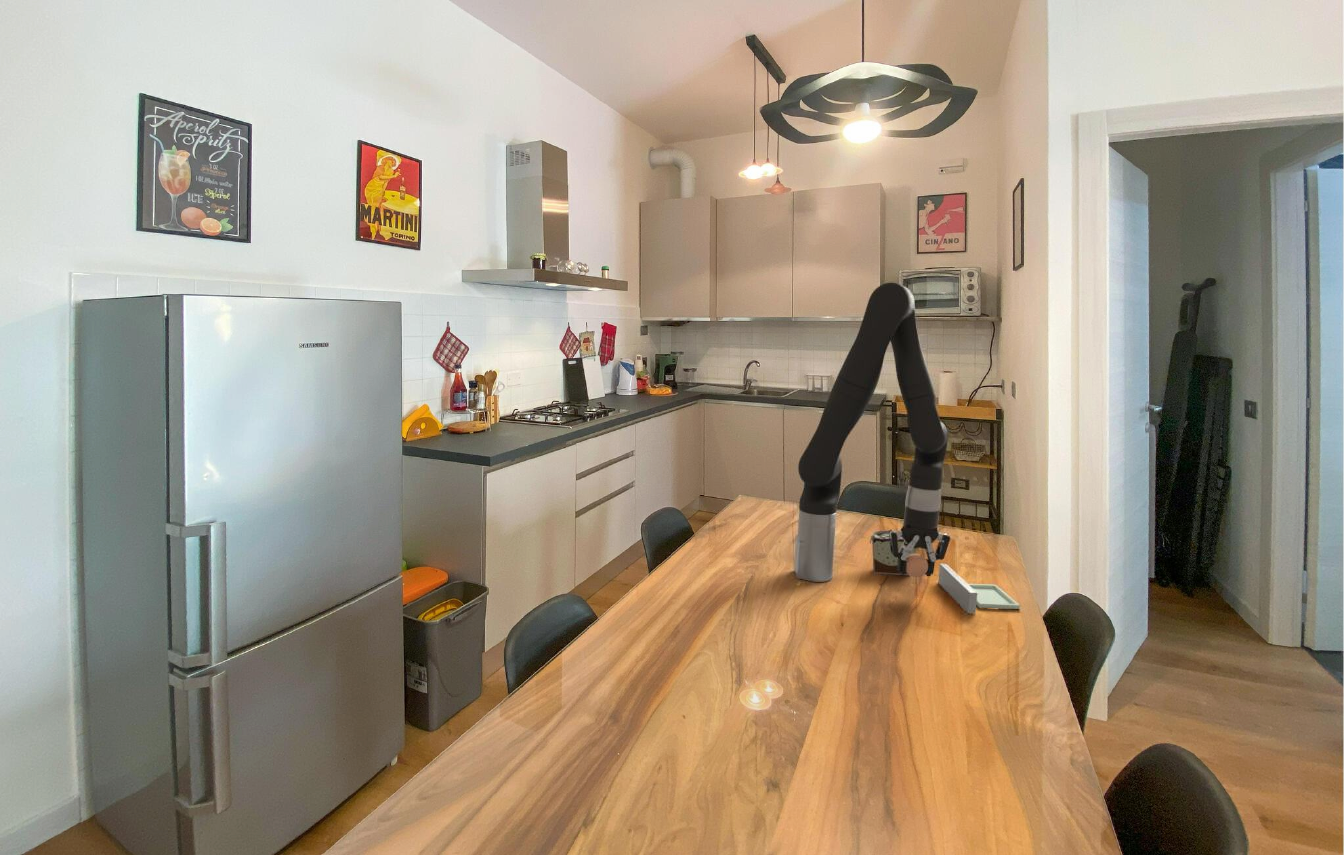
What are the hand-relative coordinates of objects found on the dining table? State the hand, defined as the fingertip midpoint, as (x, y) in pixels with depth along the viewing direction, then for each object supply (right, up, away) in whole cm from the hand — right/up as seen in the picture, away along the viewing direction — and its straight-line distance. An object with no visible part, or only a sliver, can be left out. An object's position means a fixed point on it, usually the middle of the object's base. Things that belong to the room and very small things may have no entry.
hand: (914, 574), depth 155 cm
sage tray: (+17, -6, 0) cm, 18 cm away
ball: (0, -1, 0) cm, 1 cm away
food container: (0, -3, +17) cm, 18 cm away
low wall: (+10, -6, 0) cm, 11 cm away
